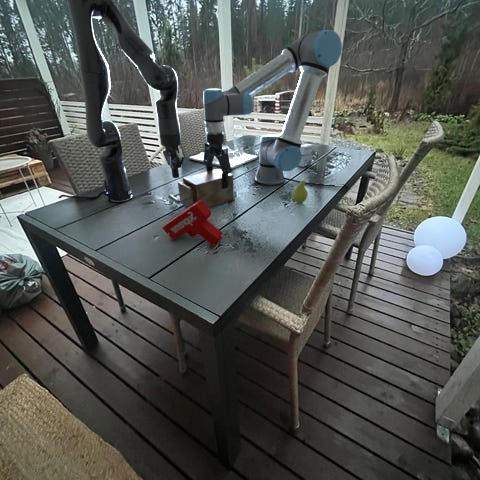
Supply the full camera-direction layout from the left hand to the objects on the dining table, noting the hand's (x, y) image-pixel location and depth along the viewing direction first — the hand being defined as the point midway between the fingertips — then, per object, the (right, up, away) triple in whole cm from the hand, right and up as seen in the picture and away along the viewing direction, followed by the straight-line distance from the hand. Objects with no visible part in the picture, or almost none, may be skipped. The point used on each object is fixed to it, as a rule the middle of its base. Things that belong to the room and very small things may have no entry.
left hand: (176, 177), depth 107 cm
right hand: (+15, 0, +14) cm, 21 cm away
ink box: (+64, +21, +59) cm, 90 cm away
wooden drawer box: (+12, -7, +16) cm, 21 cm away
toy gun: (+9, -25, -12) cm, 29 cm away
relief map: (+14, +29, +72) cm, 79 cm away
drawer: (+7, -9, +12) cm, 16 cm away
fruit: (+52, -8, +14) cm, 55 cm away
